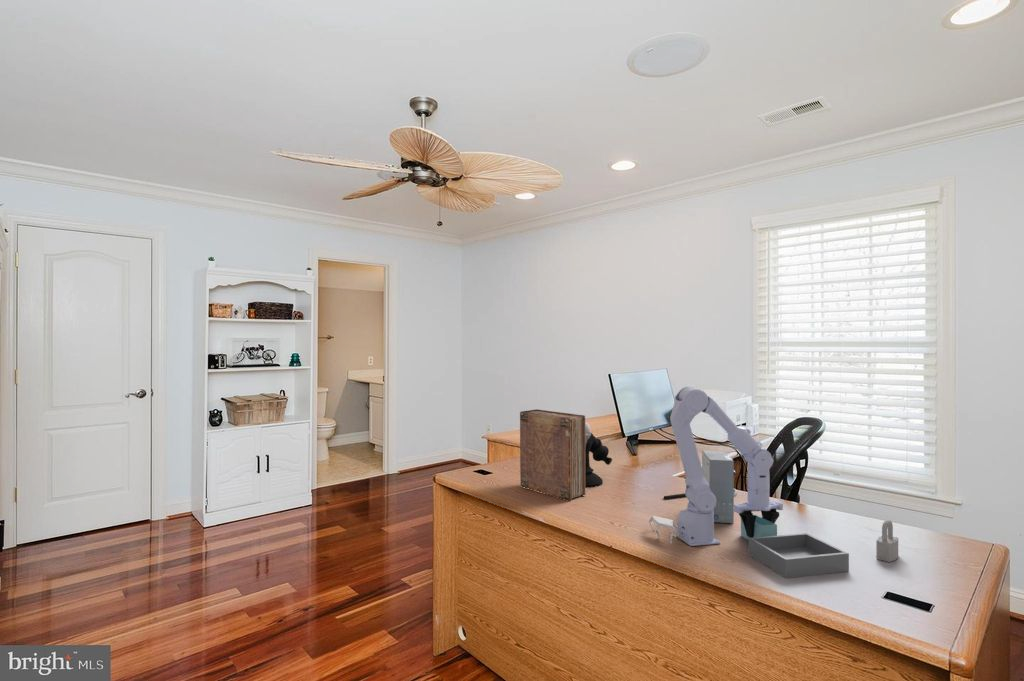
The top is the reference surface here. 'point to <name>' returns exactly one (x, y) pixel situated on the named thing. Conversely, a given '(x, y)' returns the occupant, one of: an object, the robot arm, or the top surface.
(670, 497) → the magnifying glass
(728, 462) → the hard drive box
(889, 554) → the padlock
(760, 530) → the teal mini crate
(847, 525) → the top surface
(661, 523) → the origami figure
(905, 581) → the top surface
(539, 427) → the book
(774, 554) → the grey crate
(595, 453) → the sculpture
